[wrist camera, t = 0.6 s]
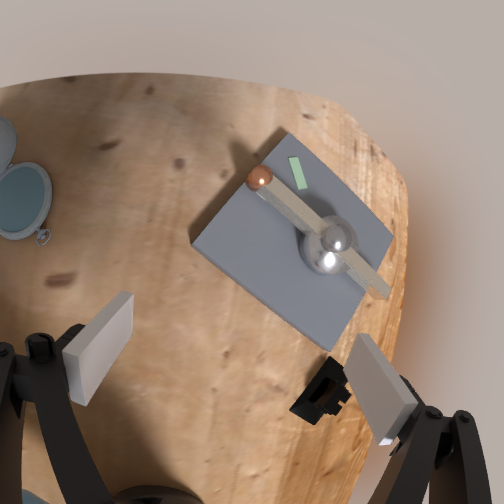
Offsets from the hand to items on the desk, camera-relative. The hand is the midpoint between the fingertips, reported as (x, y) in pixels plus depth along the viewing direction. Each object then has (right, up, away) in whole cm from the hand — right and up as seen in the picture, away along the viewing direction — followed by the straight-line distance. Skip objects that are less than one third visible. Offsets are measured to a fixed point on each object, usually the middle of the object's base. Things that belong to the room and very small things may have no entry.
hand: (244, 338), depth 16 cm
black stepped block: (+10, -15, +22) cm, 28 cm away
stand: (+7, +6, +23) cm, 25 cm away
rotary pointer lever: (+8, +6, +21) cm, 23 cm away
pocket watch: (-29, +11, +12) cm, 33 cm away
